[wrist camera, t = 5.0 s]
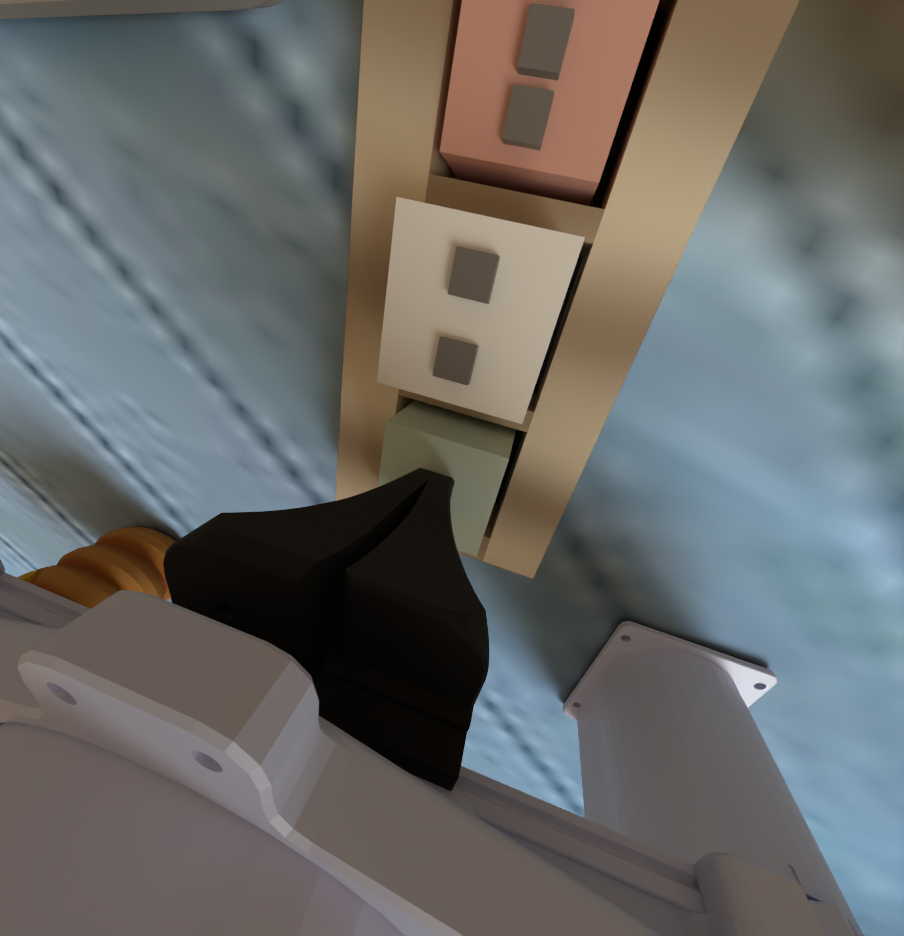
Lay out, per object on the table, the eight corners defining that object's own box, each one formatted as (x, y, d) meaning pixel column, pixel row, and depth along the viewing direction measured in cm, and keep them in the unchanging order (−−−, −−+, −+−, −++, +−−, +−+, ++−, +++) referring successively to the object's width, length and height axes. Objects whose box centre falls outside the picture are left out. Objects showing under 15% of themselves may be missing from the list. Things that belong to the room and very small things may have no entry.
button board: (534, 539, 18) (532, 578, 15) (363, 482, 19) (334, 510, 16) (791, -58, 8) (902, -223, 6) (423, -95, 10) (377, -245, 7)
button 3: (586, 212, 11) (600, 178, 8) (462, 186, 12) (436, 147, 9) (649, 18, 9) (698, -114, 6) (496, -2, 10) (477, -133, 7)
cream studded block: (527, 398, 12) (521, 427, 9) (412, 366, 12) (371, 384, 10) (574, 256, 10) (586, 234, 7) (434, 225, 10) (391, 193, 7)
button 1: (487, 515, 16) (475, 561, 13) (400, 486, 16) (369, 525, 13) (515, 429, 14) (508, 462, 11) (415, 400, 14) (382, 423, 11)
